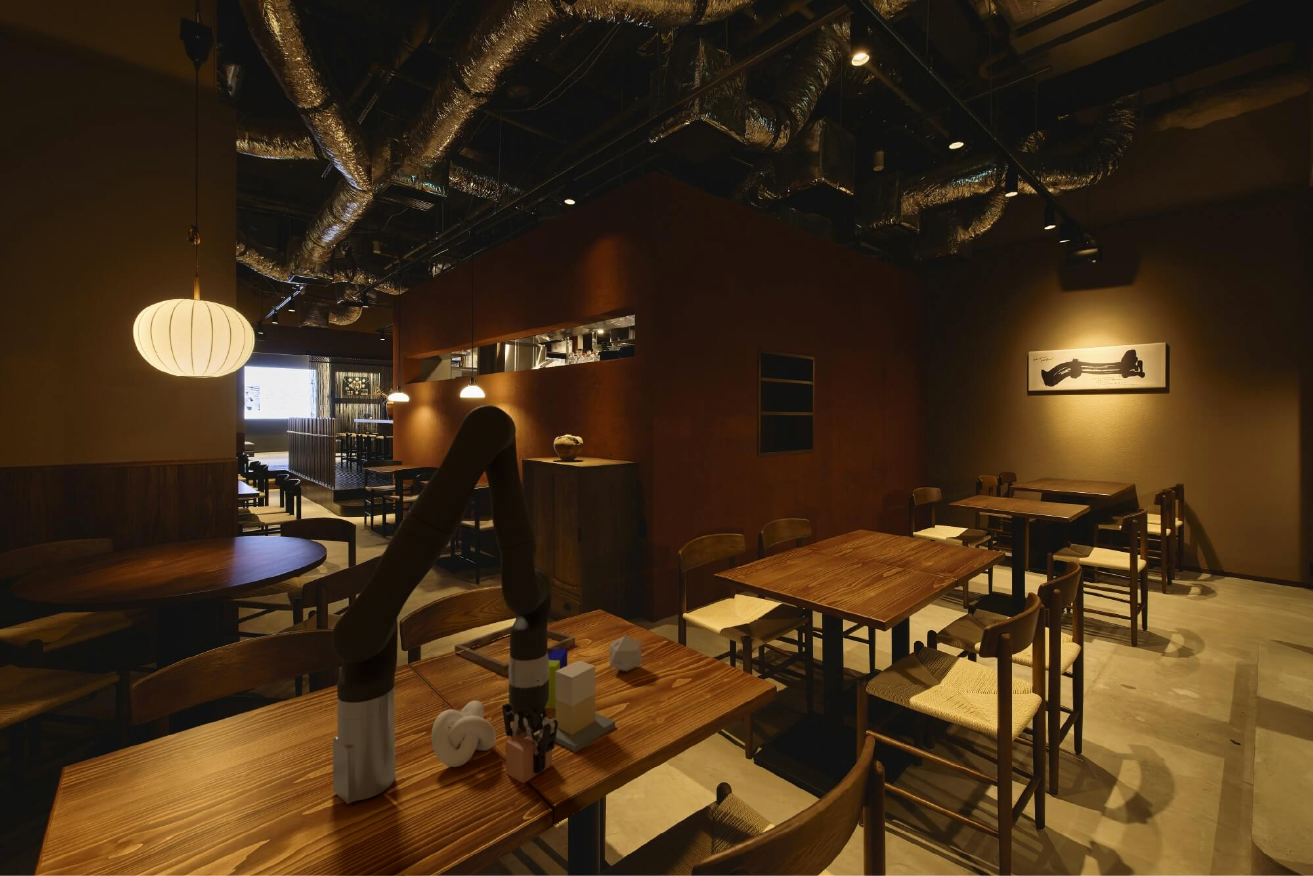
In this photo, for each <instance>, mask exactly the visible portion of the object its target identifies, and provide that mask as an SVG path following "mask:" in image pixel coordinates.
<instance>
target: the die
mask: <svg viewBox="0 0 1313 876" xmlns="http://www.w3.org/2000/svg"><path fill="white" fill-rule="evenodd" d="M642 664H643V657H642V643H641V642H640V641H638V640H637V639H634V638H632V637H629V636H628V635H626V634H625V635H624V636H622V637H620V638H618V639H616V640H615V641H614V642H611V643H610V644H609V666H610V667H614V668H615V669H617V670H619V671H622V672H624V671H625V672H626V673H627V672H629V671H631V670H634V668H636V667H638V666H640V665H642Z"/></svg>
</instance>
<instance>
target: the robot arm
mask: <svg viewBox="0 0 1313 876" xmlns="http://www.w3.org/2000/svg"><path fill="white" fill-rule="evenodd" d="M516 434H517V428H516V423H515V421H514V419H513V418H512V417H511V416H510V415H509V414H508V413H507V412H506V411H505V410H503V409H502V408H500V407H498V406H496V405H490V404H483V405H480V406H477V407H475V408H473V409H471V410H470V411H469V412H468V413H467V414H466V416H465V417H464V418H463V420H462V421H461V424H460V426H459V428H458V431H457V433H456V434H455V436H454V438H453V441H452V443H451V445H449V449H448V450H447V452H446V455H445V457H443V460H442V462H441V464H440V465H439V466H438V468H437V470H436V471H435V472H434V474H433V475H432V476H431V478H430V479H429V480H428V481H427V483H426V484H425V485H424V487H423V488H422V490H421V491H420V492H419V494H418V496H417V497H416V498H415V500H414V501H413V503H412V504H411V506H410V507H409V509H408V511H407V512H406V514H405V516H403V518H402V520H401V522H400V523H399V524H398V526H397V528H396V530H395V532H394V534H393V536H392V537H391V539H390V541H389V543H388V544H387V546H386V548H385V550H384V552H383V553H382V556H381V557H380V560H379V562H378V564H377V565H376V568H375V570H374V571H373V574H372V575H371V577H370V578H369V580H368V581H367V583H366V585H364V588H363V589H362V590H361V592H360V593H359V594H358V596H357V597H356V598H355V599H354V600H353V602H352V604H351V605H350V606H349V607H348V608H347V609H346V611H345V612H344V613H343V614H342V616H340V618H339V619H338V620H337V622H336V623H335V625H334V626H333V630H332V633H331V646H332V647H331V648H332V650H333V652H334V654H335V656H337V657H338V659H340V660H341V661H342V664H341V665H342V666H341V670H340V674H339V677H338V680H337V686H336V687H337V688H336V689H337V690H336V691H337V694H336V695H337V736H335V737H334V738H332V784H333V785H332V786H333V787H332V791H333V793H335V794H336V795H338V797H340V799H341V800H342V801H344V802H345V803H346V804H347V805H349V804H351V803H353V802H357V801H361V800H366V799H369V798H373V797H376V796H377V795H380V794H382V793H383V792H384V791H386V790H388V788H390V787H391V786H392V784H393V783H394V782H395V779H396V736H395V735H396V730H395V728H396V727H395V726H396V725H395V724H396V723H395V722H396V721H395V720H396V719H395V717H396V716H395V715H396V713H395V711H396V709H395V707H396V706H395V704H396V703H395V702H396V701H395V700H396V699H395V698H396V697H395V696H396V692H395V690H396V689H395V688H396V687H395V682H396V681H395V677H396V671H397V666H398V665H397V664H398V642H399V640H398V634H399V633H398V630H399V629H398V627H399V624H398V617H399V615H400V613H401V612H402V610H403V608H404V606H405V604H406V602H407V601H408V599H410V596H411V595H412V593H413V592H414V591H415V589H416V588H417V587H418V585H420V583H421V582H422V581H423V580H424V578H425V577H426V576H427V575H428V573H429V572H430V571H431V570H432V568H433V567H434V566H435V564H436V563H437V561H438V560H439V558H441V556H442V554H443V553H444V551H445V550H446V548H447V547H448V546H449V544H450V542H451V540H452V539H453V537H454V535H456V533H457V530H458V529H459V527H460V525H461V523H462V522H463V519H464V517H465V514H466V512H467V509H468V507H469V504H470V501H471V499H472V498H471V497H472V495H473V493H474V490H475V489H476V486H477V484H478V483H479V481H480V479H481V478H482V476H483V475H484V473H485V475H486V480H487V485H488V491H489V500H490V512H491V519H492V527H493V531H494V534H495V540H496V543H497V548H498V551H499V554H500V579H501V580H500V581H501V583H500V584H501V592H502V597H503V600H504V602H505V605H506V606H507V607H508V609H509V610H510V611H511V612H512V613H515V614H516V616H515V617H516V618H515V621H514V623H513V624H512V625H511V626H512V628H511V631H510V634H509V674H508V702H506V703H504V704H502V706H501V708H502V709H501V710H502V716H503V723H504V724H503V725H504V728H505V729H504V730H505V735H506V737H510V738H513V737H515V736H519V734H521V733H522V732H527V735H528V739H529V742H531V743H532V745H533V751H534V754H533V772H534V773H536V774H537V775H539V774H540V773H542V772H543V770H544V768H545V766H546V763H545V762H546V761H545V760H546V753H547V752H549V751H550V750H552V751H553V750H554V749H555V745H556V742H555V739H556V733H557V728H558V722H557V720H553V721H551V720H550V719H551V718H548V714H547V713H548V712H547V708H545V706H546V704H547V702H548V700H549V660H548V649H547V647H548V638H549V637H547V629H548V624H549V619H550V613H551V605H552V598H553V596H552V595H553V593H552V592H553V590H552V583H551V580H550V577H549V575H548V574H547V573H546V572H545V571H544V570H542V569H540V568H535V556H536V554H537V551H538V545H537V539H536V536H535V531H534V527H533V523H532V522H533V521H532V520H531V515H530V512H529V511H530V510H529V508H528V504H527V501H526V497H525V496H526V495H525V493H524V489H523V484H522V480H521V476H520V469H519V463H518V453H517V438H516V437H517V436H516ZM511 723H512V725H511ZM539 730H540V732H539V733H538V734H536V735H534V733H536V732H537V731H539ZM539 739H540V740H541V745H539V746H538V740H539ZM541 771H542V772H541ZM544 771H545V770H544ZM539 772H540V773H539ZM538 773H539V774H538Z"/></svg>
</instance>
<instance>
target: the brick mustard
mask: <svg viewBox="0 0 1313 876" xmlns="http://www.w3.org/2000/svg"><path fill="white" fill-rule="evenodd" d="M595 713H596V693H595V694H594V695H592V696H590V697H588V698H586V699H584V700H582V701H581V702H579V703H577V704H575V705H573V706H570V705H568V704H565V703H563V702H561V701H559V700H556V709H555V716H556V720H557V722H558V729H561V730H563V731H565V732H567V733H569V734H571V735H573V734H575V733H576V732H578V731H580V730H581V729H583V728H584V727H586V726H588V725H589V724H591V723H593V722H594V721H596V717H595Z"/></svg>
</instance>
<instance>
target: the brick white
mask: <svg viewBox="0 0 1313 876" xmlns="http://www.w3.org/2000/svg"><path fill="white" fill-rule="evenodd" d="M555 676H556V700H559V701H561V702H563V703H565V704H568V705H570V706H573V705H575V704H577V703H579V702H581V701H582V700H584V699H586V698H588V697H590V696H592V695H594V694H595V695H596V665H593V664H590V663H587V662H585V661H582V660H576V661H575V662H573V663H571V664H567V666H566V667H564V668H561V669H559V670H557V671H555Z"/></svg>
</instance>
